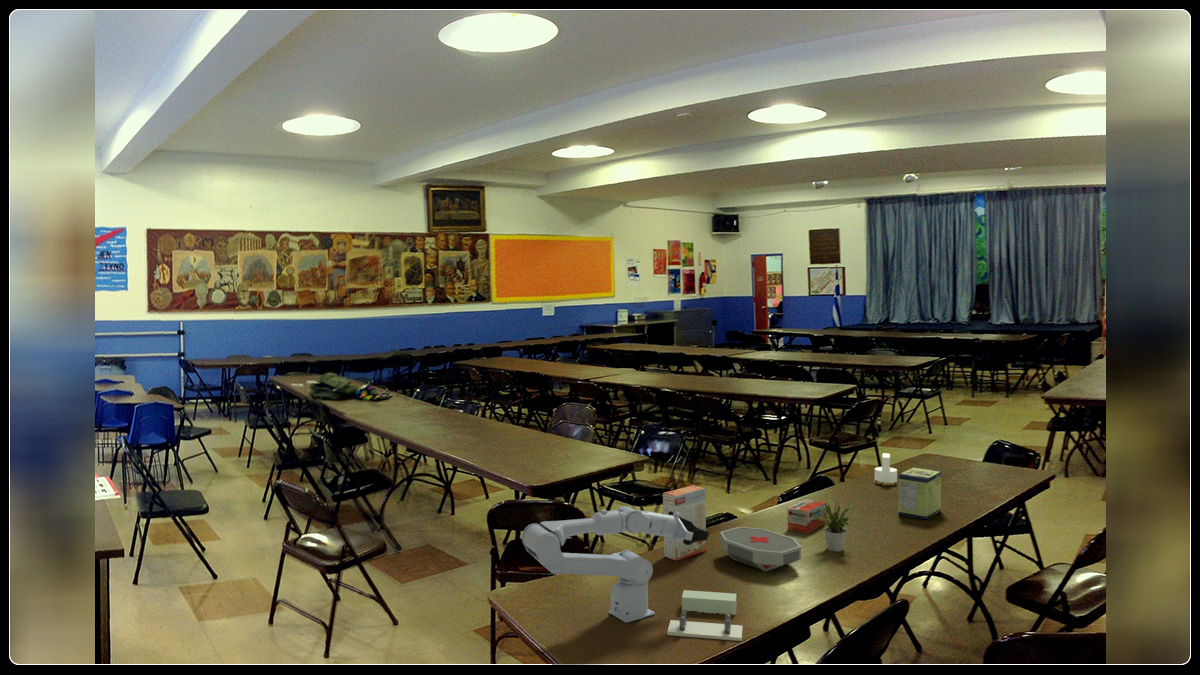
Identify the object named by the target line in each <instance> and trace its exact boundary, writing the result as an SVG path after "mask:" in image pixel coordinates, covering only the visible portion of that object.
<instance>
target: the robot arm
mask: <svg viewBox="0 0 1200 675" xmlns="http://www.w3.org/2000/svg"><path fill="white" fill-rule="evenodd" d="M679 515H680V514H679V513H678V512H672V511H670V512H669V513H668V515H666V514H663V513H659V512H653V511H649V510H637V509H634V508H633V507H630V506H627V505H626V506H625V505H621V506H619V507H618V508H617V509H616V510H615V509H614V510H607V509H605V508H603V509H600V512H599V511H598V512H595V513H594V514H593V515H592V517H590V518H589V517H588V518H578V519H577V518H576V519H566V520H549V521H548V520H546V521H545V520H544V521H541V522H540V524H539V523H531V524H528V525H527V526H526V527H525V528H524V530H523V531H522V535H521V540H522V544H523V545H524V547H525V548H524V549H525V550H526V552H527V553H528V554H530V555H531V556H532V557H534V559H535V560H536V561H538V562H539V563H540V564H541V565H542V567H544V568H546V570H548V571H549V572H550V573H552V574H554V575H581V576H585V575H586V576H604V577H605V576H608V577H609V576H610V577H617V578H619V580H618V582H617V583H615V584H612V585H611V588H610V610H609V611H608V614H611V615H612V616H613V617H615V618H617V619H618V620H621V621H622V622H624V623H630V622H633V621H637V620H641V619H644V618H646V617H651V616H653V615H655V614H656V612H655V611H653V610H651V609H649V590H648V588H649V586H648V585H649V584H648V583H649V581H650V579H651V577H652V576H653V572H654V568H653V564H652V563H651V562H650V561H649V560H648V559H645V558H643V557H641V556H640V555H638V554H636V553H635V552H633V550H631V549H624V550H622V551H620V552H613V553H612V554H594V553H577V552H574V553H571V552H562V551H561V547H563V546H564V544H565V543H566V541H567V538H568V537H574V536H578V535H584V534H588V533H595V534H596V535H597V536H604V535H612V534H619V533H623V532H628V533H631V534H632V535H637V534H639V533H641V534H645V535H652V536H653V535H654V536H659V537H664V536H665V537H669V538H673V539H684V540H683V543H684V544H686V545H691V544H692V543H694V542H697V541H703V540H706V541H707V540H708V538H709V534H710V533H709V532H710V531H709V532H708V531H707V530H706V531H705V530H702V529H699V528H697V527H696V526H694V525H693V523H692V522H690V521H688V520H686V519H683V518H681V517H679Z"/></svg>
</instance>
